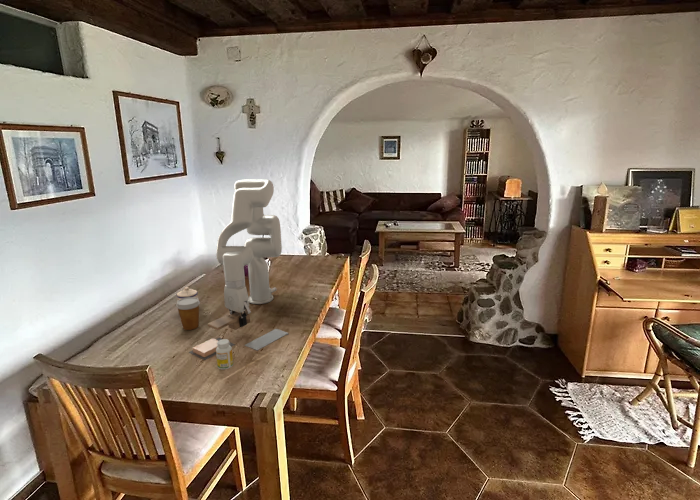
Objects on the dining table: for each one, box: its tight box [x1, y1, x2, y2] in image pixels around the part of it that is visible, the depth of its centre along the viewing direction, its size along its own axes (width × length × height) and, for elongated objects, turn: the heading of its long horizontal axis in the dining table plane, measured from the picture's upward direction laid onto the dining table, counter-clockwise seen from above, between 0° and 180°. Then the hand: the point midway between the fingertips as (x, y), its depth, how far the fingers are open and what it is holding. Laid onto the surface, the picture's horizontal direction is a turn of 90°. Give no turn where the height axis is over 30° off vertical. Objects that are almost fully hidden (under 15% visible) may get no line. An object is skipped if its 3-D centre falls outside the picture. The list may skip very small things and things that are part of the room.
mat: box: [188, 337, 236, 361], centre depth 157 cm, size 14×10×1 cm
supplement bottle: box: [215, 338, 234, 370], centre depth 144 cm, size 5×5×10 cm
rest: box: [244, 328, 289, 351], centre depth 164 cm, size 17×7×1 cm, turn 145°
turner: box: [207, 312, 251, 331], centre depth 164 cm, size 16×6×5 cm, turn 144°
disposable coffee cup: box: [175, 297, 201, 331], centre depth 175 cm, size 10×10×12 cm
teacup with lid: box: [176, 286, 199, 301], centre depth 192 cm, size 12×9×12 cm
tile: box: [192, 338, 218, 357], centre depth 156 cm, size 2×7×9 cm
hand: (239, 323), depth 167 cm, fingers closed on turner, 4 cm apart
